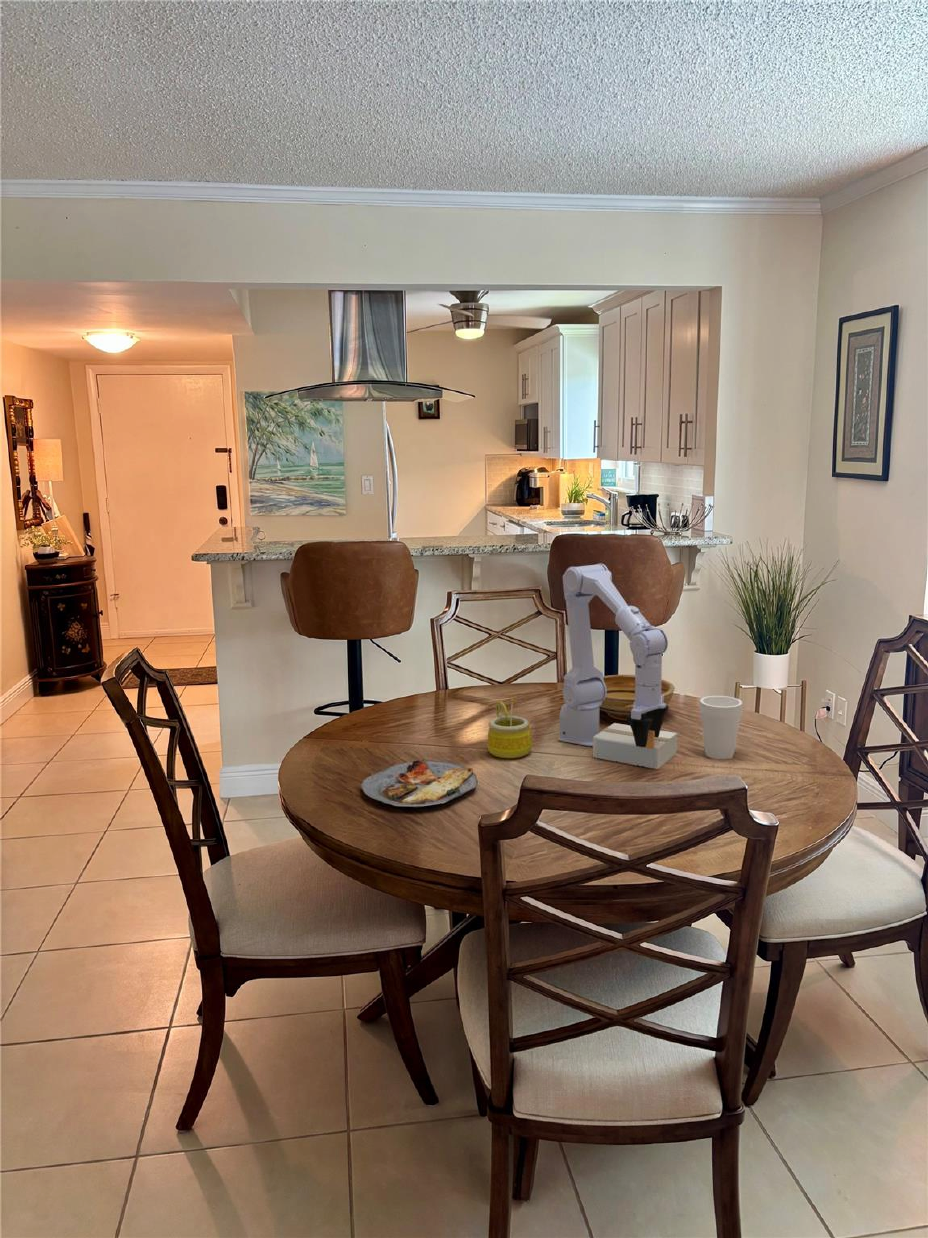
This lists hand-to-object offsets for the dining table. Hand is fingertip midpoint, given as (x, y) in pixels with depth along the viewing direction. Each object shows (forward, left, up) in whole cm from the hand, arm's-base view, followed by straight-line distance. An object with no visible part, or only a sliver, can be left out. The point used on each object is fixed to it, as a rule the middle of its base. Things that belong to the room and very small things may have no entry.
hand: (647, 741), depth 199 cm
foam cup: (+11, +17, -7) cm, 21 cm away
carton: (-6, +7, -6) cm, 11 cm away
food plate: (-38, -35, -7) cm, 52 cm away
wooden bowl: (-20, +36, -7) cm, 41 cm away
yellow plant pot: (-33, -5, -7) cm, 34 cm away
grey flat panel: (-6, 0, -6) cm, 8 cm away
